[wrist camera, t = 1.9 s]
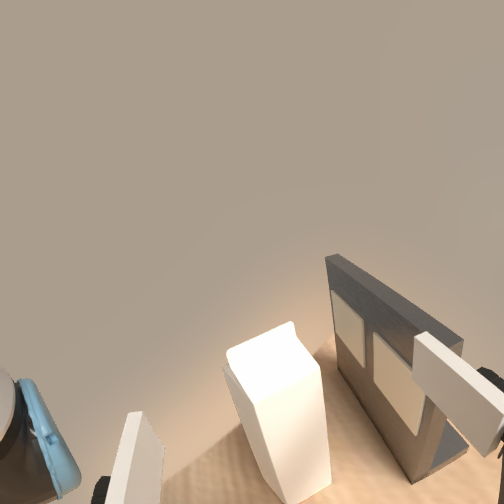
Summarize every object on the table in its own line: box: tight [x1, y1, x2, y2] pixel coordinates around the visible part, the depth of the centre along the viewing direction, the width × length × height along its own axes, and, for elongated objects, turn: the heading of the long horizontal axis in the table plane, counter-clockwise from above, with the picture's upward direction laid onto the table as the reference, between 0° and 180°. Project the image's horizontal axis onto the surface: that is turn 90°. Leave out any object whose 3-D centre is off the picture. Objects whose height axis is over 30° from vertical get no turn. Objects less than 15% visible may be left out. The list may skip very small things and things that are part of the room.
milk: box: [222, 321, 332, 504], centre depth 25 cm, size 6×6×22 cm
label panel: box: [325, 254, 469, 484], centre depth 33 cm, size 8×26×20 cm, turn 7°
